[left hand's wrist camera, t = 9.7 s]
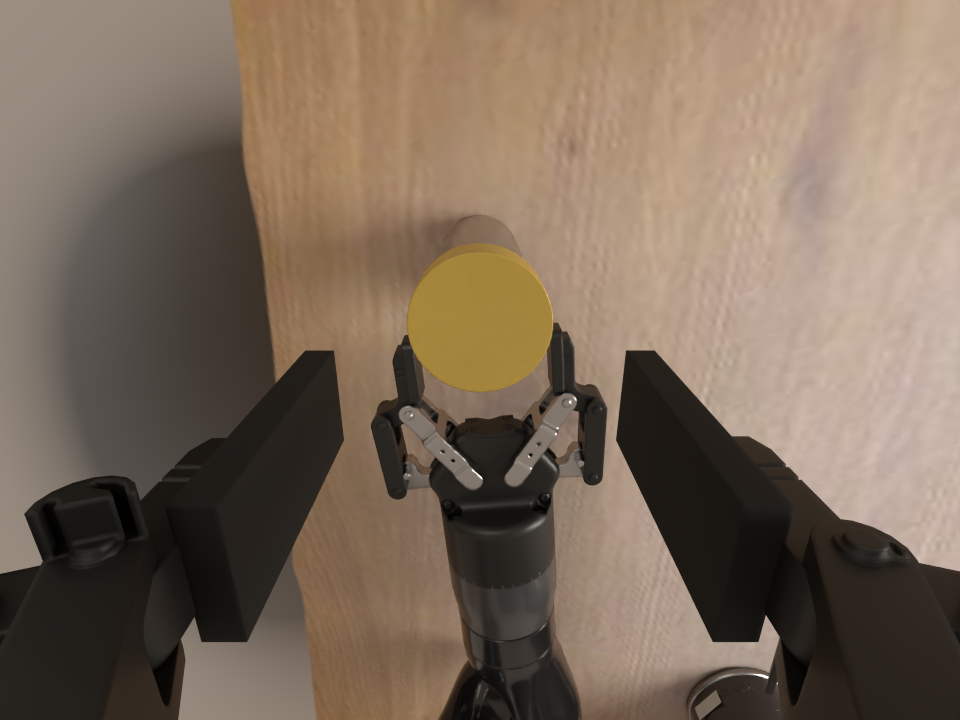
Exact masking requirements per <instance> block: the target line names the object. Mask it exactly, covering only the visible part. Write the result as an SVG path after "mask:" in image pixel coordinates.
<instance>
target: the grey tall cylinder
mask: <svg viewBox="0 0 960 720" xmlns="http://www.w3.org/2000/svg"><path fill="white" fill-rule="evenodd" d="M475 243H485V244H493V245H497V246H501V247H504V248H506V249H509V250H511V251H512V252H514V253H516V254H518V255H519V256H520V257H522V256H521V253H520V251H519V249H518V246H517V244H516V241H515V239H514V237H513V235H512V233H511V231H510V230H509V229H508V228H507V227H506V226H505V225H504V224H503V223H502V222H500V221H499V220H497V219H495V218H492V217H489V216H483V215H477V216H471V217H468V218H465V219H463V220H461V221H460V222H458V223H457V224H456V225H455V226H453V228H452V229H451V230H450V231H449V233H448V235H447V237H446V239H445V241H444V244H443V246H442V248H441V251H440V253H439V256H438V257H440V256H441V255H442V254H444V253H445V252H447V251H449V250H451V249H454V248H456V247H459V246H462V245H467V244H475Z"/></svg>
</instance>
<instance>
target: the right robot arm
mask: <svg viewBox="0 0 960 720" xmlns="http://www.w3.org/2000/svg"><path fill="white" fill-rule="evenodd" d="M547 358H548V378H549V381H550V386H549V388H548V389H547V390H546V392H545V393H544V394H543V396H542V397H541V398H540V400H539V401H536V402H534V403H533V405H532V406H531V407H530V409H529V410H528V411H527V413H526V414H525V415H524V417H523V418H522V420H519V419H515V418H513V415H505V416H499V417H496V418H493V419H482V418H467V419H465V422H464V423H461V424H460V425H459V424H457V423H456V422H455V421H454V420H453V419H452V418H451V417H450V416H449V415H448V414H447V413H446V412H445V411H444V410H442V409H438V408H436V407H435V406H434V405H433V404H432V403H431V402H430V401H429V400H428V399H427V398H426V397H425V396H424V395H423V392H424V388H425V385H424V378H423V371H422V364H421V363H420V361H419V360H418V358H417V357H416V355H415V353H414V351H413V349H412V346H411V344H410V341H409V337H408V335H405V336H404V338H403V341H402V344H401V345H398V347H397V349H396V351H395V354H394V358H393V368H394V374H395V380H396V386H397V392H398V398H396V399H394V400H392V401H389V400H385V401H382V402H381V403H380V404H379V406H378V408H377V413H376V415H375V417H374V419H373V421H372V423H371V429H372V433H373V437H374V441H375V445H376V448H377V452H378V456H379V460H380V464H381V468H382V471H383V475H384V479H385V483H386V487H387V491H388V494H389V496H390V497H392V498H394V499H402V498H404V497H405V496H406V493H407V490H410V489H418V488H426V487H431V488H432V489H433V490H434V492H435V493H436V494H437V496H438V497H439V500H440V505H441V512H442V519H443V526H444V533H445V540H446V547H447V554H448V561H449V568H450V575H451V582H452V587H453V591H454V594H455V598H456V601H457V603H458V607H459V612H460V619H461V627H462V634H463V641H464V646H465V651H466V655H467V658H468V660H467V662H466V663H465V664H464V666H463V667H462V669H461V671H460V673H459V675H458V677H457V679H456V682H455V684H454V686H453V689H452V691H451V693H450V696H449V698H448V700H447V702H446V705H445V707H444V709H443V711H442V713H441V715H440V717H439V719H438V720H582V710H581V703H580V697H579V693H578V690H577V687H576V683H575V681H574V678H573V676H572V673H571V671H570V668H569V665H568V663H567V660H566V658H565V655H564V653H563V650H562V647H561V645H560V643H559V641H558V639H557V637H556V635H555V616H554V593H555V586H556V559H555V535H554V514H553V487H554V485H555V483H556V482H557V480H558V478H559V477H583V479H584V482H585V483H586V484H588V485H597V484H598V483H600V482H601V480H602V477H603V462H604V448H605V434H606V419H607V406H606V404H605V402H604V400H603V398H602V396H601V394H600V392H599V390H598V388H597V387H596V386H595V385H592V384H588V385H585V386H584V385H580V384H577V383H576V382H575V363H574V362H575V360H574V346H573V343H572V341H571V339H570V337H569V335H568V333H567V331H565V332H562V330H561V328H560V326H559V324H558V323H553V331H552V337H551V340H550V344H549V346H548V349H547ZM573 410H574V411H578V412H579V421H578V442H576V441H573V442H572V443H571V444H570V445H569V446H568V448H567V452H566V454H565V455H564V456H562V457H559V458H557V457H556V455H555V454H554V453H553V451H552V450H551V449H550V448H549V446H550V445H551V443H552V442H553V441H554V439H555V438H556V436H557V434H558V430H559V428H560V426H561V425H562V424H563V422H564V421H565V420H566V418H567V417H568V416H569V415H570V413H571V412H572V411H573ZM402 424H405V425H406V426H407V427H409V428H410V429H411V430H412V431H413V432H414V433H415V434H416V435H417V436H418V437H419V438H420V439H421V440H422V443H423V445H424V447H425V448H426V449H427V450H428V451H429V452H430V453H431V454H433V455H434V456H435V459H434V460H433V462H432V464H431V466H430V467H429V468H427V467H423V466H422V465H421V464H420V463H419V461H418V459H417V458H416V457H415V456H414V455H413V454H409V455H408V454H407V449H406V445H405V441H404V437H403V432H402V428H401V425H402ZM768 676H769V673H767V672H765V671H762V670H759V669H753V668H734V669H728V670H724V671H721V672H718V673H716V674H713V675H711V676H709V677H708V678H706V679H704V680H703V681H701V682H700V683H699V684H698V685H697V686H696V687H695V688H694V689H693V690H692V692H691V693H690V695H689V698H688V701H687V712H688V715H689V718H690V720H782V715H781V706H780V698H779V690H778V683H776V686H775V689H774V693H773V695H770V694H767V693H765V690H766V684H767V679H768Z"/></svg>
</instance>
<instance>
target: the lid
mask: <svg viewBox="0 0 960 720" xmlns="http://www.w3.org/2000/svg"><path fill="white" fill-rule="evenodd" d="M407 331H408V337H409V341H410V344H411V346H412V349H413V351H414V353H415V355H416V357H417V358H418V360H419V361H420V363H421V364H422V365H423V367H424V368H425V369H426V370H427V371H428V372H429V373H430V374H432V375H433V376H434V377H435V378H437V379H438V380H440V381H442V382H443V383H445V384H447V385H449V386H452V387H454V388H457V389H461V390H465V391H471V392H489V391H495V390H499V389H503V388H506V387H508V386H511V385H513V384H515V383H517V382H518V381H520V380H522V379H523V378H524V377H526V376H527V375H528V374H530V373H531V372H532V371H533V370H534V369H535V368H536V366H537V365H538V364H539V363H540V361H541V360H542V358H543V357H544V355H545V353H546V351H547V349H548V346H549V344H550V340H551V337H552V331H553V313H552V307H551V304H550V300H549V298H548V295H547V293H546V291H545V289H544V287H543V285H542V283H541V280H540V278H539V277H538V275H537V274H536V272H535V270H534V269H533V268H532V267H531V266H530V264H529V263H527V262H526V261H525V260H524V259H523V258H522V257H520V256H519V255H518V254H516V253H514V252H512V251H511V250H509V249H506V248H504V247H501V246H497V245H493V244H485V243H475V244H467V245H462V246H459V247H456V248H454V249H451V250H449V251H447V252H445V253H444V254H442V255H441V256H440V257H438V258H437V259H436V260H435V261H434V262H432V263H431V265H430V266H429V267H428V268H427V269H426V270H425V272H424V274H423V275H422V277H421V279H420V281H419V283H418V285H417V287H416V289H415V291H414V293H413V295H412V297H411V300H410V304H409V307H408V313H407Z"/></svg>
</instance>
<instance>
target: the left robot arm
mask: <svg viewBox="0 0 960 720" xmlns="http://www.w3.org/2000/svg"><path fill="white" fill-rule="evenodd" d="M343 441H344V437H343V428H342V419H341V410H340V401H339V392H338V383H337V374H336V365H335V356H334V351H305V352H304V353H303V354H302V355H301V356H300V357H299V358H298V359H297V360H296V362H295V363H294V364H293V365H292V366H291V367H290V368H289V369H288V371H287V372H286V373H285V374H284V375H283V376H282V377H281V378H280V379H279V381H278V382H277V383H276V384H275V385H274V386H273V387H272V389H270V391H269V392H268V393H267V394H266V395H265V396H264V397H263V398H262V399H261V401H260V402H259V403H258V404H257V405H256V406H255V407H254V408H253V410H252V411H251V412H250V413H249V414H248V415H247V416H246V417H245V418H244V420H243V421H242V422H241V423H240V424H239V425H238V426H237V427H236V428H235V430H234V431H233V432H232V433H231V434H230V435H229V436H228V437H227V438H211V439H209V440H208V441H206V442H204V443H203V444H201V445H199V446H197V447H196V448H194V449H192V450H190V451H189V452H188V453H187V454H186V455H185V456H184V457H183V458H182V459H181V460H180V461H179V462H178V463H177V464H176V465H175V468H174V469H171V470H170V471H169V472H168V473H167V474H166V475H165V476H164V477H163V478H162V482H158V484H156V486H155V487H154V488H153V489H152V490H151V491H150V492H149V493H148V494H147V495H146V496H145V497H144V498H143V499H142V500H141V501H140V499H139V495H138V492H137V488H136V485H135V483H134V482H133V481H131V480H130V479H128V478H126V477H120V476H103V477H94V478H90V479H86V480H82V481H79V482H75V483H72V484H70V485H67V486H65V487H62V488H60V489H58V490H55V491H53V492H51V493H49V494H48V495H46V496H45V497H43V498H42V499H40V500H38V501H37V502H35V503H34V504H33V505H32V506H31V507H30V508H29V509H28V510H27V512H26V513H25V514H24V515H25V517H26V520H27V522H28V525H29V527H30V530H31V532H32V535H33V537H34V540H35V542H36V545H37V547H38V550H39V552H40V555H41V557H42V560H43V562H42V564H41V565H40V566H36V567H31V568H26V569H22V570H17V571H12V572H7V573H2V574H0V720H178V716H179V708H180V700H181V692H182V683H183V675H184V667H185V655H184V649H183V645H182V642H181V638H182V636H183V634H184V633H185V631H186V630H187V628H188V626H189V625H190V623H191V622H192V620H193V618H194V617H195V619H196V623H197V627H198V630H199V634H200V638H201V641H202V642H247V641H248V639H249V637H250V635H251V633H252V631H253V629H254V626H255V624H256V622H257V620H258V618H259V616H260V614H261V612H262V610H263V608H264V606H265V604H266V601H267V599H268V597H269V595H270V593H271V591H272V589H273V587H274V585H275V583H276V580H277V578H278V576H279V574H280V572H281V570H282V568H283V566H284V564H285V562H286V560H287V558H288V556H289V553H290V551H291V549H292V547H293V545H294V543H295V541H296V539H297V537H298V535H299V533H300V531H301V528H302V526H303V524H304V522H305V520H306V518H307V516H308V514H309V512H310V510H311V508H312V506H313V503H314V501H315V499H316V497H317V495H318V493H319V491H320V489H321V487H322V485H323V483H324V480H325V478H326V476H327V474H328V472H329V470H330V468H331V466H332V464H333V462H334V460H335V458H336V455H337V453H338V451H339V449H340V447H341V445H342V443H343ZM616 441H617V443H618V445H619V447H620V449H621V451H622V453H623V455H624V458H625V460H626V462H627V464H628V466H629V468H630V470H631V472H632V474H633V476H634V478H635V480H636V483H637V485H638V487H639V489H640V491H641V493H642V495H643V497H644V499H645V501H646V503H647V506H648V508H649V510H650V512H651V514H652V516H653V518H654V520H655V522H656V524H657V526H658V528H659V531H660V533H661V535H662V537H663V539H664V541H665V543H666V545H667V547H668V549H669V551H670V553H671V556H672V558H673V560H674V562H675V564H676V566H677V568H678V570H679V572H680V574H681V576H682V579H683V581H684V583H685V585H686V587H687V589H688V591H689V593H690V595H691V597H692V599H693V601H694V604H695V606H696V608H697V610H698V612H699V614H700V616H701V618H702V620H703V622H704V624H705V627H706V629H707V631H708V633H709V635H710V637H711V639H712V641H713V642H758V641H759V638H760V634H761V630H762V627H763V623H764V619H765V616H767V617H768V619H769V620H770V622H771V624H772V625H773V627H774V628H775V630H776V632H777V633H778V635H779V636H780V638H779V642H778V645H777V649H776V652H775V655H774V659H773V662H772V666H771V669H770V673H769V676H768V679H767V684H766V690H765V693H767V694H770V695H773V693H774V689H775V686H776V683H778V690H779V698H780V706H781V715H782V720H960V571H955V570H950V569H945V568H940V567H936V566H931V565H926V564H921V563H918V561H917V559H916V558H915V557H914V556H913V554H912V553H911V552H910V551H909V549H908V548H907V547H905V546H904V545H903V544H901V543H900V542H899V541H897V540H896V539H894V538H893V537H892V536H890V535H888V534H886V533H884V532H882V531H880V530H878V529H876V528H874V527H871V526H868V525H865V524H861V523H858V522H855V521H850V520H842V519H840V518H839V517H838V516H837V515H836V514H835V513H834V512H833V511H832V510H831V509H830V508H829V507H828V506H827V505H826V504H825V503H824V502H823V501H822V500H821V499H820V498H819V497H818V496H817V495H816V494H815V493H814V492H813V491H812V490H811V489H810V488H809V487H808V486H807V485H806V484H805V483H804V482H803V481H802V480H798V476H797V475H796V474H795V473H794V472H793V471H792V470H791V469H790V468H789V467H786V464H785V463H784V462H783V461H782V460H781V459H780V458H779V457H778V456H777V455H776V454H775V453H774V452H773V451H772V450H771V449H770V448H768V447H766V446H764V445H763V444H761V443H759V442H757V441H756V440H754V439H752V438H750V437H749V436H731V435H730V434H729V433H728V432H727V431H726V430H725V428H724V427H723V426H722V425H721V424H720V423H719V422H718V421H717V420H716V418H715V417H714V416H713V415H712V414H711V413H710V412H709V411H708V410H707V408H706V407H705V406H704V405H703V404H702V403H701V402H700V401H699V399H698V398H697V397H696V396H695V395H694V394H693V393H692V392H691V391H690V389H689V388H688V387H687V386H686V385H685V384H684V383H683V382H682V381H681V379H680V378H679V377H678V376H677V375H676V374H675V373H674V372H673V371H672V369H671V368H670V367H669V366H668V365H667V364H666V363H665V362H664V360H663V359H662V358H661V357H660V356H659V355H658V354H657V353H656V352H655V351H626V356H625V365H624V374H623V383H622V392H621V401H620V410H619V419H618V428H617V437H616Z"/></svg>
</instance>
